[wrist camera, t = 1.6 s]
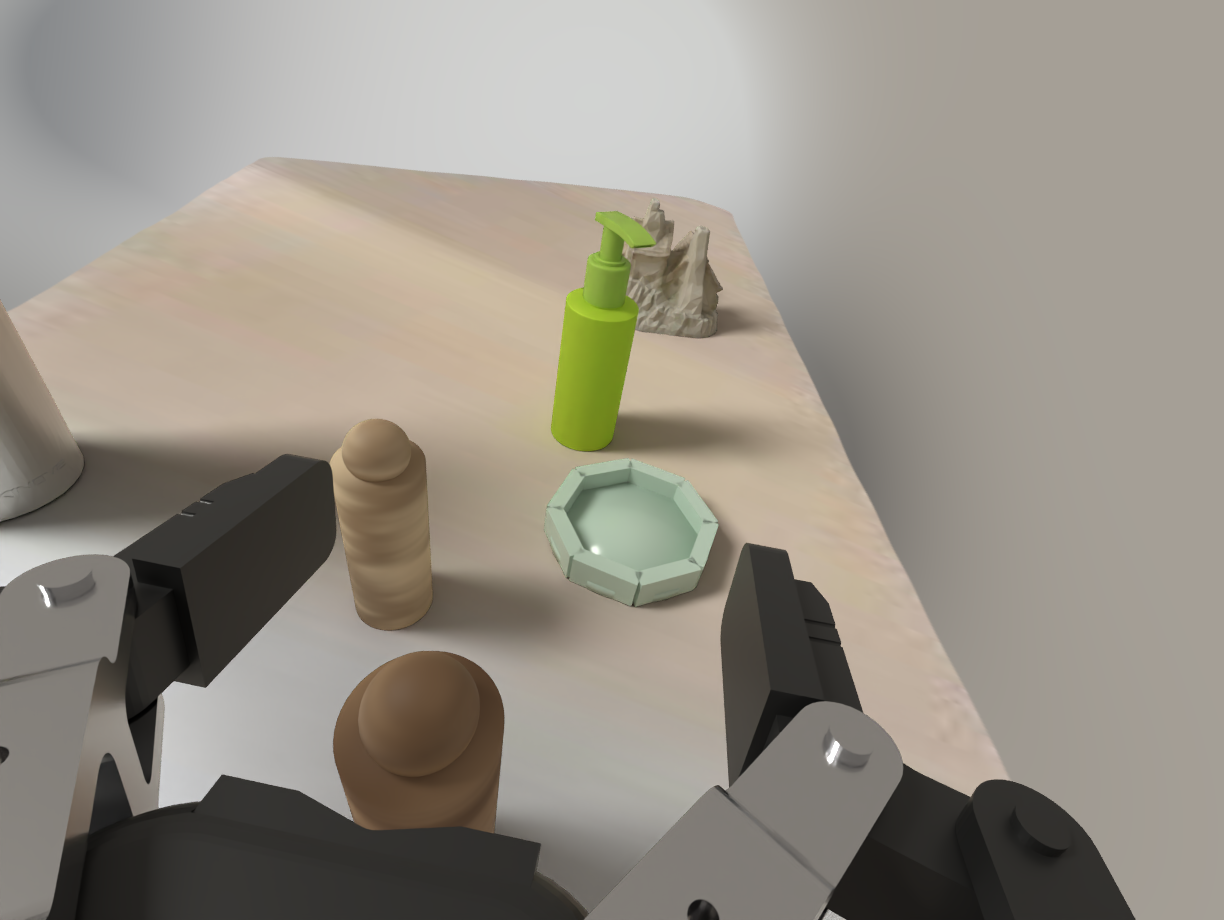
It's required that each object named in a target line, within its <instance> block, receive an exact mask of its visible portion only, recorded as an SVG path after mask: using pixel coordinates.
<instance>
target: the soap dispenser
mask: <svg viewBox="0 0 1224 920" xmlns="http://www.w3.org/2000/svg"><path fill="white" fill-rule="evenodd" d="M595 220H596V221H598V222H599V223H601V224H602V225H604V228H603V235H602V241H601V248H600V251H599V252H596V253H593V254H591V255H590V256H589V257H588V261H587V268H586V275H585V282H584V288H579V289H576V290H574V291H572V292H570V293H569V294H568V296H567V298H566V306H565V314H564V323H563V331H562V339H561V348H560V356H559V365H558V373H557V381H556V390H555V398H554V407H553V415H552V424H551V431H552V434H553V436H554V438H555V439H556V440H557V441H558V442H560V443H561V444H562V445H564V446H566V447H568V448H571V449H574V450H579V451H595V450H599V449H602V448H604V447H606V446H607V445H608V444H609V443H610V442H611V441H612V438H613V434H614V429H615V425H616V420H617V415H618V410H619V405H620V400H621V395H622V390H623V386H624V381H625V376H626V371H627V366H628V361H629V356H630V351H631V346H632V342H633V337H634V332H635V327H636V322H637V317H638V312H639V308H638V305H637V304H636V302H635V301H634V300H632V299H631V298H630V297H628V296H626V292H627V286H628V281H629V276H630V270H631V263H630V262H629V261H628V260H627V259H626V258H625V257H624V256H623V255H622V252H623V247H624V241H625V242H626V243H627V244H628V245H629V247H630V248H632V249H634V248H646V247H653V246H655V245H656V242H655V241H654V239H653V238H652V237H651V235H650V234H649V233H648V232H647V231H646V230H645V229H644V228H643V227H642V226H641V225H640V224H639V223H637V222H636V221H635V220H633V219H631V218H630V217H628V216H626V215H624V214H622V213H620V212H618V211H613V212H596V218H595Z"/></svg>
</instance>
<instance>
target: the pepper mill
mask: <svg viewBox="0 0 1224 920" xmlns="http://www.w3.org/2000/svg"><path fill="white" fill-rule="evenodd" d="M503 733H504V707H503V703H502V699H501V696H500V694H499V691H498V689H497V687H496V685H495V683H494V682H493V680H492V679H491V678H490V677H489V675H488V674H487V673H486V672H485V671H484V670H483V669H482V668H481V667H479V666H478V665H477V664H475V663H474V662H472V661H470V660H468V659H466V658H464V657H462V656H459V655H456V654H452V653H448V652H440V651H419V652H413V653H409V654H406V655H403V656H401V657H398V658H396V659H393V660H391V661H389V662H387V663H385V664H384V665H382V666H380V667H378V668H377V669H376V670H374V671H373V672H371V673H370V674H369V675H368V676H367V677H365V678H364V679H363V680H362V681H361V682H360V683H359V684H358V685H357V687H356V688H355V689H354V690H353V691H352V693H351V694H350V695H349V697H348V698H347V700H346V702H345V703H344V705H343V707H342V709H341V711H340V714H339V716H338V719H337V722H336V726H335V730H334V738H333V752H334V758H335V763H336V766H337V769H338V773H339V776H340V779H341V782H342V785H343V788H344V792H345V795H346V798H347V801H348V804H349V807H350V811H351V814H352V817H353V820H354V823H356V824H358V825H360V826H361V827H364V828H366V829H370V830H394V829H415V828H436V827H457V826H462V827H467V828H471V829H476V830H480V831H485V832H490V833H494V830H495V819H496V808H497V798H498V787H499V776H500V766H501V755H502V744H503Z"/></svg>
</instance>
